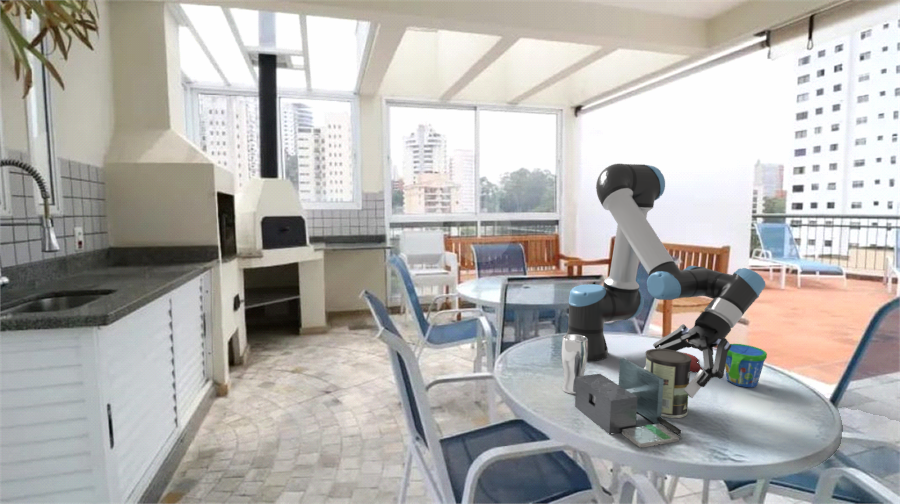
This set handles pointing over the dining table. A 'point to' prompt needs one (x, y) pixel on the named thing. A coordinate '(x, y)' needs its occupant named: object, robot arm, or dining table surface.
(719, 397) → the dining table surface
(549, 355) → the dining table surface
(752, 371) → the snack cup
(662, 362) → the coffee can
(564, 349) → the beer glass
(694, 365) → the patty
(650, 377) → the blue-grey panel with base
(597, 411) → the gauge housing
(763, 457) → the dining table surface
